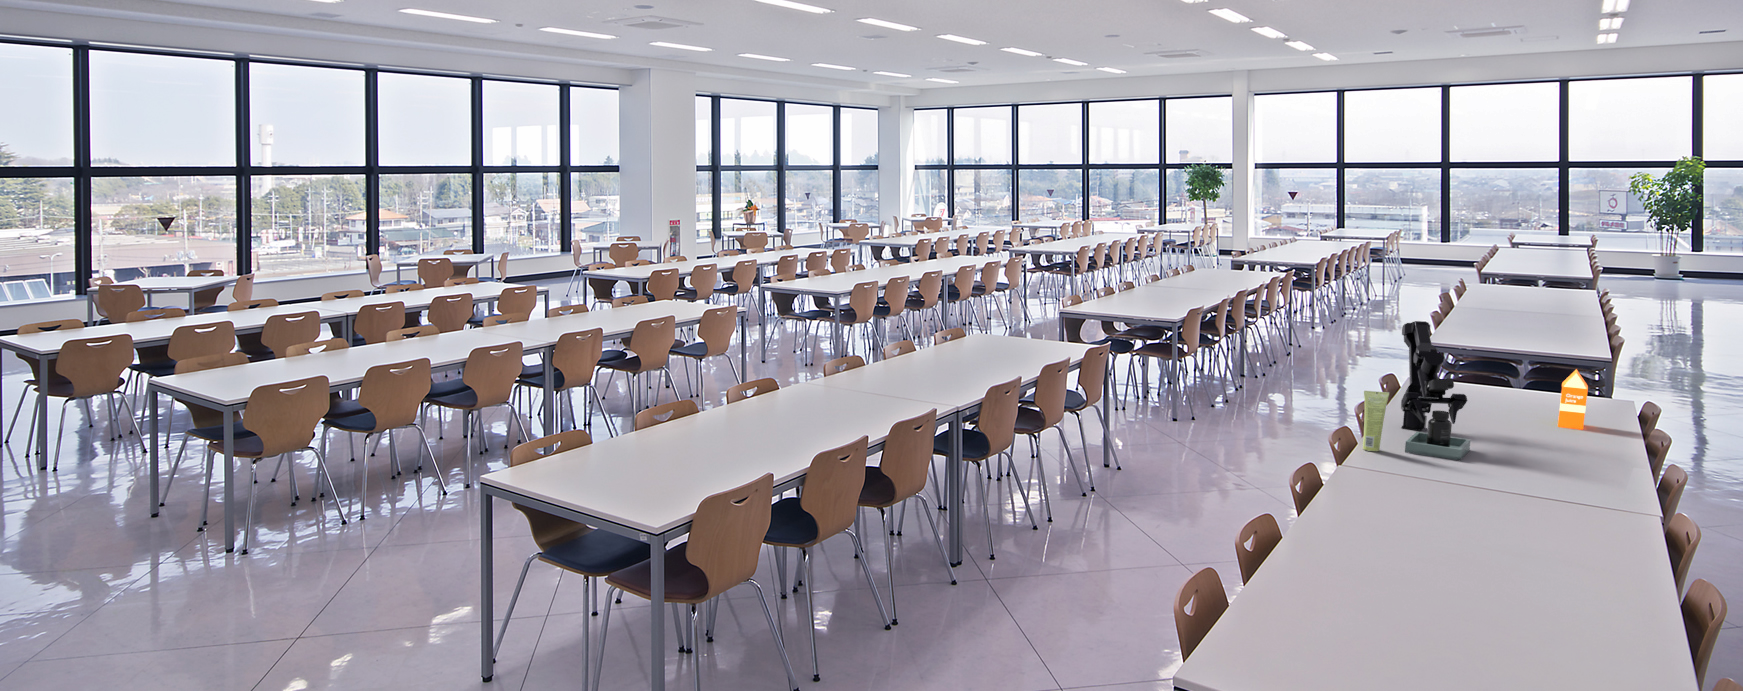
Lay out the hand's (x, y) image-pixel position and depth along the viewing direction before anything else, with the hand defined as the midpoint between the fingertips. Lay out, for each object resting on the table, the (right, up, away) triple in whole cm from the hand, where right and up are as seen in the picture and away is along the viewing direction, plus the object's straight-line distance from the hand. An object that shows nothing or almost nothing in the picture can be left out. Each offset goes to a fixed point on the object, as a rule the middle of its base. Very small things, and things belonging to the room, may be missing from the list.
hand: (1438, 422), depth 351 cm
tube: (-21, -9, +2) cm, 23 cm away
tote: (0, -9, +1) cm, 9 cm away
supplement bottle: (0, -8, +1) cm, 8 cm away
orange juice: (+65, -4, +34) cm, 73 cm away
